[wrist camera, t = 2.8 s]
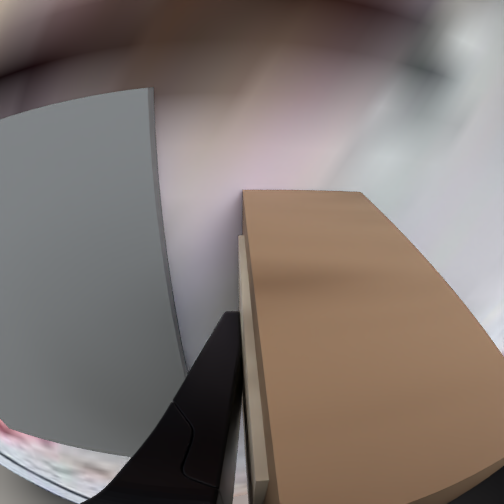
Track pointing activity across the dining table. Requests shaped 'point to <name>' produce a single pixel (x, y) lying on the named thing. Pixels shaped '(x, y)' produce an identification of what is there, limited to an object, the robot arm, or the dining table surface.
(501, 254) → the dining table surface
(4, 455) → the dining table surface
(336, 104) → the dining table surface
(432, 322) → the block
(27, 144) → the mat
